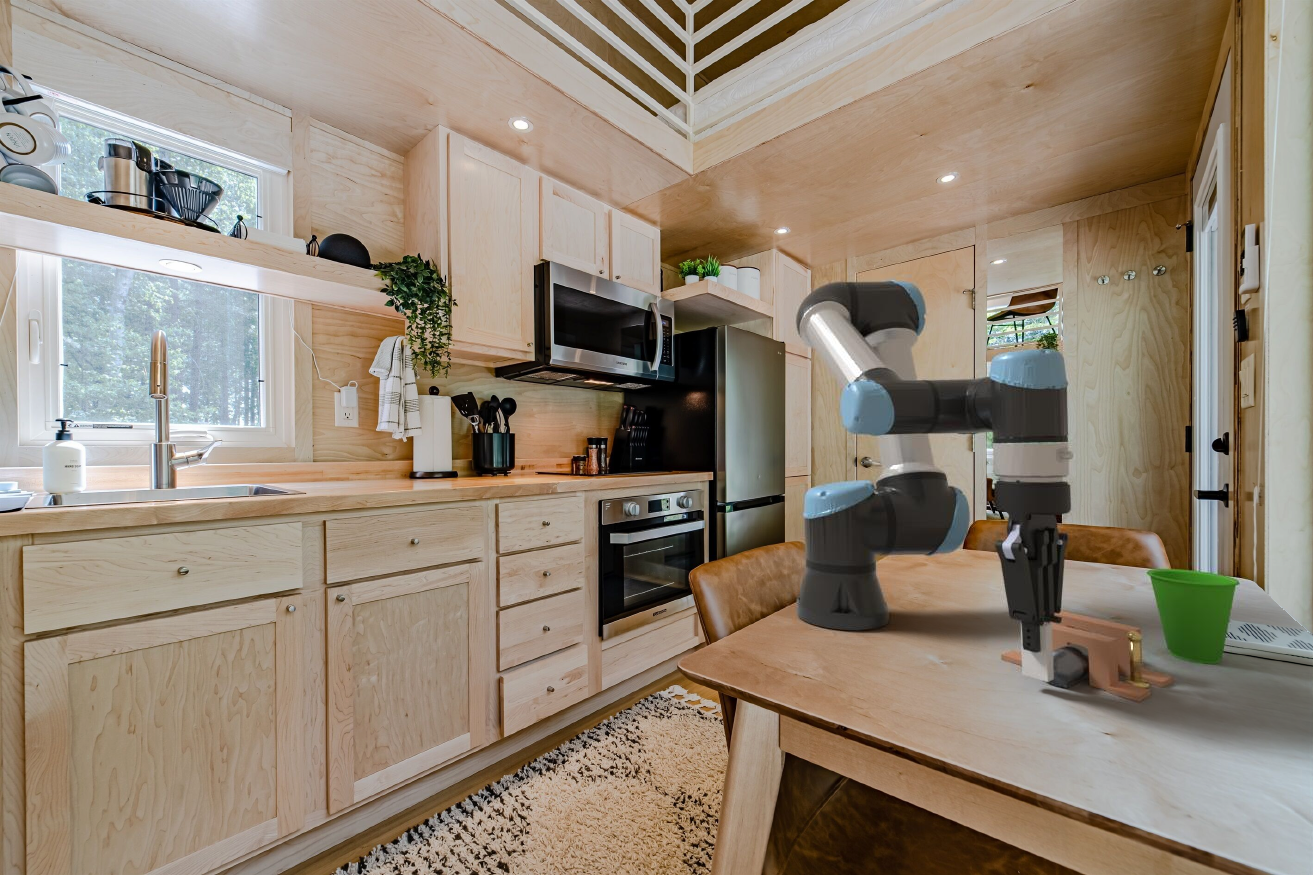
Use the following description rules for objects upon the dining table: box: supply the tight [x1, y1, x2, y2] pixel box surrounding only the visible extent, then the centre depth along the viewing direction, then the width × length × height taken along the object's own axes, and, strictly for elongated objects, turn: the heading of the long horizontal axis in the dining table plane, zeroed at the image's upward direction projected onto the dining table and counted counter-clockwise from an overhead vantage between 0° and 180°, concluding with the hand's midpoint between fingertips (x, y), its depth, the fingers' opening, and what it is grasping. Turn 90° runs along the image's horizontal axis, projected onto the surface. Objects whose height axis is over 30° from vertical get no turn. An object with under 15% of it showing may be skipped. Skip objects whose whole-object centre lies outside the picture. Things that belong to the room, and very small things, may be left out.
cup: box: [1146, 568, 1240, 665], centre depth 74 cm, size 9×9×11 cm
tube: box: [1044, 632, 1114, 689], centre depth 69 cm, size 16×4×4 cm, turn 120°
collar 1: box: [1000, 623, 1151, 703], centre depth 68 cm, size 15×3×6 cm, turn 30°
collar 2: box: [1050, 610, 1174, 688], centre depth 72 cm, size 15×3×6 cm, turn 30°
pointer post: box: [1122, 631, 1151, 690], centre depth 65 cm, size 2×2×6 cm
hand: (1037, 676), depth 64 cm, fingers closed
